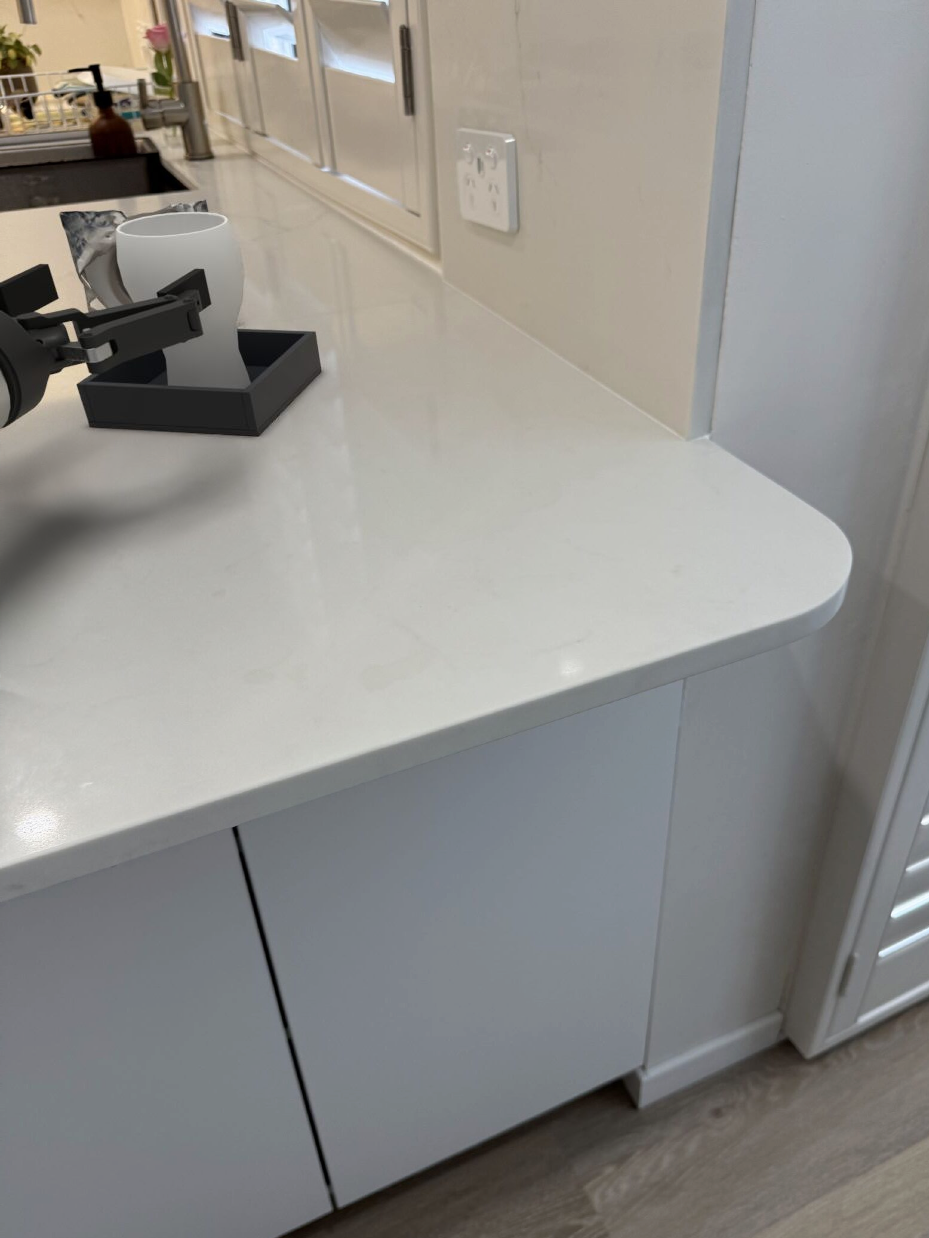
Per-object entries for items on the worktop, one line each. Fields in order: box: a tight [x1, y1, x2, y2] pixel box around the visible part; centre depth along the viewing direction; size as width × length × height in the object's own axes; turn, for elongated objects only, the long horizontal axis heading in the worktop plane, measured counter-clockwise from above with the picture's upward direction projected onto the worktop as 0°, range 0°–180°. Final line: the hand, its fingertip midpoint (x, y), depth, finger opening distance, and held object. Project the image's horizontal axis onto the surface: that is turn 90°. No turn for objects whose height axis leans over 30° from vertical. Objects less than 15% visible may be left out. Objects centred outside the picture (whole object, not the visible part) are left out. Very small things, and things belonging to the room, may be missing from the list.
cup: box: [116, 212, 251, 389], centre depth 87 cm, size 11×11×15 cm
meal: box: [58, 198, 210, 313], centre depth 104 cm, size 15×4×13 cm, turn 115°
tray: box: [76, 328, 322, 437], centre depth 90 cm, size 17×17×4 cm
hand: (125, 283), depth 76 cm, fingers open, 13 cm apart
